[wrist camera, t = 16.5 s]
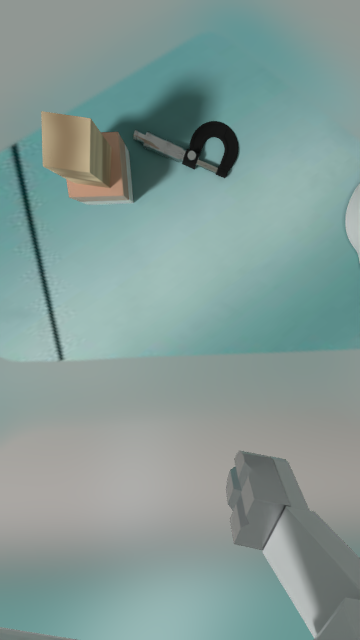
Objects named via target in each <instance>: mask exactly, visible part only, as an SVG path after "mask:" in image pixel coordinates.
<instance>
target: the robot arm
mask: <svg viewBox="0 0 360 640" xmlns="http://www.w3.org/2000/svg"><path fill="white" fill-rule="evenodd" d="M345 224H346V231H347V235H348V238H349V240H350V242H351V244H352V245H353V247H354V248H355V249H356V251H357V253H358V255H359V262H360V184H359V185H358V186H357V188H356V189H355V191H354V193H353V194H352V196H351V199H350V201H349V204H348V207H347V211H346V219H345ZM235 465H236V467H234V468H233V469H231V470H230V472H229V475H228V479H227V486H226V493H227V502H228V505H229V506H230V507H231V509H232V510H233V512H232V515H231V517H230V523H231V529H232V536H233V541H234V544H237V545H241V546H246V547H250V548H255V549H259V550H263V554H264V555H265V557H266V559H267V560H268V562H269V564H270V565H271V567H272V569H273V570H274V572H275V574H276V575H277V577H278V579H279V580H280V582H281V584H282V585H283V587H284V589H285V590H286V592H287V593H288V595H289V597H290V598H291V600H292V602H293V603H294V605H295V607H296V608H297V610H298V612H299V613H300V615H301V617H302V618H303V620H304V622H305V623H306V625H307V626H308V628H309V630H310V632H311V633H312V635H313V637H314V638H315V639H314V640H360V558H359V557H358V556H357V555H356V554H355V553H354V552H353V551H352V549H351V548H350V547H348V545H346V543H345V542H344V541H343V540H342V539H341V538H340V537H339V536H338V535H337V534H336V533H335V532H334V531H333V530H332V529H331V528H330V527H329V526H328V525H327V524H326V523H325V522H324V521H323V520H322V519H321V518H320V517H319V516H318V515H317V514H316V513H315V512H313V511H310V510H309V508H308V506H307V503H306V501H305V499H304V497H303V494H302V492H301V490H300V488H299V485H298V483H297V481H296V479H295V476H294V474H293V472H292V469H291V467H290V465H289V463H288V462H287V461H286V459H281V458H276V457H269V456H265V455H259V454H254V453H249V452H244V451H239V452H238V453H237V455H236V457H235ZM0 640H76V639H70V638H64V637H57V636H51V635H44V634H39V633H32V632H25V631H20V630H14V629H8V628H1V627H0Z"/></svg>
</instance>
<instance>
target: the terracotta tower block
mask: <svg viewBox="0 0 360 640" xmlns="http://www.w3.org/2000/svg"><path fill="white" fill-rule="evenodd" d="M101 134H102V135H103V136H104V138H105V139H106V141H107V142H108V143H109V145H110V146H111V147H112V153H111V179H110V188H105V187H98V186H90V185H83V184H76V183H73V182H71V181H69V180H67V186H68V193H69V198H72V199H75V200H77V201H80V202H88V201H119V200H129V191H128V178H127V166H126V153H125V143H124V141H123V140H122V138H121V136H120V134H119V133H118V132H101Z"/></svg>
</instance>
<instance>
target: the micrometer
mask: <svg viewBox="0 0 360 640" xmlns="http://www.w3.org/2000/svg"><path fill="white" fill-rule="evenodd" d="M211 137H217V138H219V139H220V140H221V141H222V142H223V144H224V147H225V152H224V156H223V158H222V161H221V164H220V166H219V167H215V166H213V165H211V164H209V163H206V162H204V161H202V160H199V156H200V153H201V150H202V147H203V145H204V143H205V141H206V140H207V139H209V138H211ZM133 140H135V141H139V142H141V143H143V144H144V148H146V149H148V150H151V151H154V152H156V153H158V154H160V155H163V156H164V157H166V158H170V159H172V160H174V161H177V162H182V164H184V165H186V166H188V167H190V168H193V169H195V167H196V165H197V166H200V167H202V168H204V169H207V170H209V171H211V172H214V173H216V175H219V176H221V177H223V178H225V177H226V176H227V173H228V171H229V169H230V168H231V167H232V165H233V164H234V162H235V160H236V158H237V154H238V142H237V138H236V136H235V134H234V132H233V131H232V130H231V129H230V128H229V127H228V126H227V125H225V124H224V123H221V122H217V121H211V122H207V123H205V124H203V125H201V126H200V127H199V128H198V129H197V130H196V131H195V132H194V134H193V136H192V138H191V142H190V150H189V149H187V150H185V149H184V148H183V147H182V146H180V145H177V144H175V143H173V142H172V141H169V140H166V139H164V138H161V137H159V136H157V135H155V134H153V133H151V132H149V131H147V133H146V134H144V133H141V132H139V131H138V130H135V131H134V135H133Z"/></svg>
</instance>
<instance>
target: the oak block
mask: <svg viewBox="0 0 360 640" xmlns="http://www.w3.org/2000/svg"><path fill="white" fill-rule="evenodd" d="M41 113H42V148H43V166H44V167H46V168H47V169H49V170H51V171H53V172H55V173H57V174H58V175H60V176H62V177H64V178H66V179H67V180H69V181H71V182H73V183H76V184H83V185H90V186H98V187H105V188H110V179H111V153H112V147H111V146H110V145H109V143H108V142H107V141H106V139H105V138H104V136H103V135H102V134H101V132H100V131H99V129H98V128H97V127H96V125H95V124H94V123H93V121H92V120H91V118H84V117H77V116H70V115H63V114H56V113H49V112H41Z"/></svg>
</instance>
